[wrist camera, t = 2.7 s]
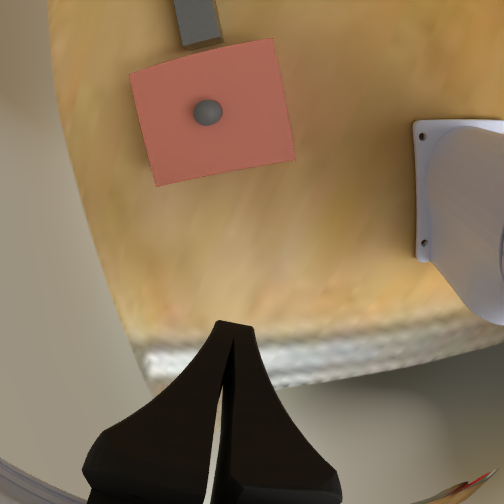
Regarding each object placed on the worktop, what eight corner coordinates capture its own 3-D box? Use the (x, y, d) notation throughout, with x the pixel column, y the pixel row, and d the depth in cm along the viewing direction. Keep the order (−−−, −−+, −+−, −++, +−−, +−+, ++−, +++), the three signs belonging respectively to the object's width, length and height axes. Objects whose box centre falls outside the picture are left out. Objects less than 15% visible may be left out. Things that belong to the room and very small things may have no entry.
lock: (291, 149, 18) (297, 163, 14) (175, 171, 19) (151, 191, 15) (272, 49, 15) (272, 34, 12) (153, 77, 16) (122, 73, 12)
